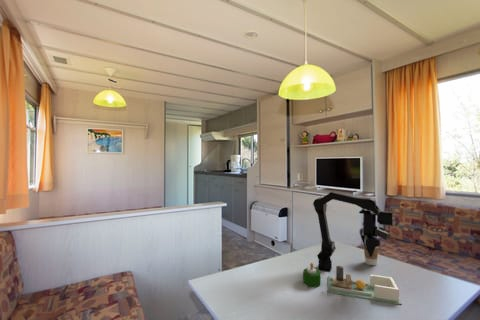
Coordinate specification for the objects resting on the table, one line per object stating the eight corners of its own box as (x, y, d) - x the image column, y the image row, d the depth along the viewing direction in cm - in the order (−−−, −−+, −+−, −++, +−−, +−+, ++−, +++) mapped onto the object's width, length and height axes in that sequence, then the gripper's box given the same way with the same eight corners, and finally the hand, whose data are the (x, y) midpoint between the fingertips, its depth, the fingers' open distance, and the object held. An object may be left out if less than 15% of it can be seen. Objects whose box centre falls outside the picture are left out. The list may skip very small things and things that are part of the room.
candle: (321, 288, 115) (321, 267, 115) (303, 286, 116) (303, 265, 116) (319, 279, 123) (319, 260, 123) (302, 278, 125) (302, 258, 125)
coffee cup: (375, 260, 146) (375, 236, 146) (381, 266, 137) (381, 240, 137) (360, 260, 147) (360, 235, 147) (366, 266, 138) (366, 240, 138)
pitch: (328, 292, 111) (328, 280, 111) (327, 277, 125) (327, 267, 125) (401, 304, 101) (401, 292, 101) (392, 287, 116) (392, 275, 116)
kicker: (333, 287, 114) (333, 269, 114) (332, 280, 121) (332, 263, 121) (351, 290, 111) (351, 272, 111) (350, 282, 118) (350, 265, 118)
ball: (356, 290, 112) (356, 281, 112) (355, 285, 116) (355, 277, 116) (365, 291, 111) (365, 283, 111) (364, 287, 115) (364, 279, 115)
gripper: (392, 229, 112) (392, 262, 112) (382, 219, 130) (381, 248, 130) (366, 227, 115) (365, 259, 115) (359, 217, 133) (359, 246, 133)
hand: (368, 253), depth 123 cm, fingers open, 9 cm apart
